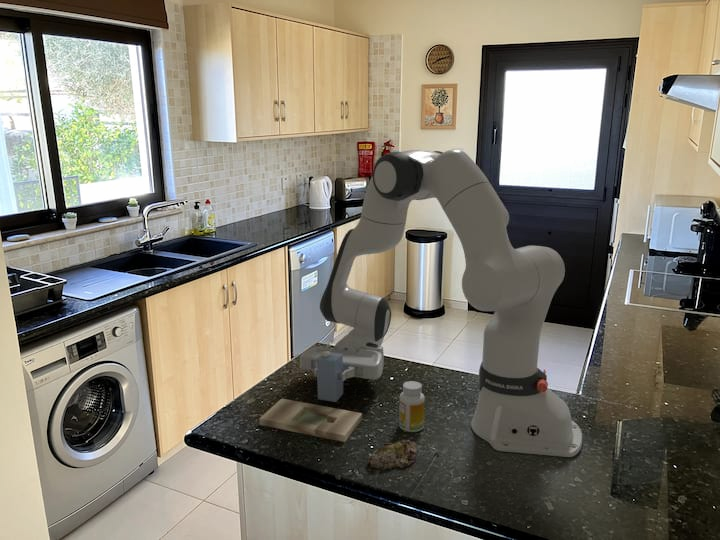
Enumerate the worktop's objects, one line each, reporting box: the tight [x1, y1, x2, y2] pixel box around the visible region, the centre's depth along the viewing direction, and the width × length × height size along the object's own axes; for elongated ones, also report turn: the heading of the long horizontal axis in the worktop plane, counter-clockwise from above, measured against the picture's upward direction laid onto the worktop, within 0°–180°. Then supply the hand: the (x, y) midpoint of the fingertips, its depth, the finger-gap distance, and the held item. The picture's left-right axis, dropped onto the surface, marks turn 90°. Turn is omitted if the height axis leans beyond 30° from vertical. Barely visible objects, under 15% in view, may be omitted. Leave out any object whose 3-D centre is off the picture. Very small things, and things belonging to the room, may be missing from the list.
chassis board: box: [258, 398, 363, 443], centre depth 127 cm, size 20×10×2 cm, turn 69°
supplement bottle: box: [398, 380, 426, 433], centre depth 124 cm, size 5×5×10 cm
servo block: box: [316, 351, 344, 403], centre depth 134 cm, size 4×4×11 cm
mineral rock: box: [367, 438, 418, 470], centre depth 113 cm, size 11×4×8 cm
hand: (328, 375), depth 133 cm, fingers closed on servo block, 4 cm apart
